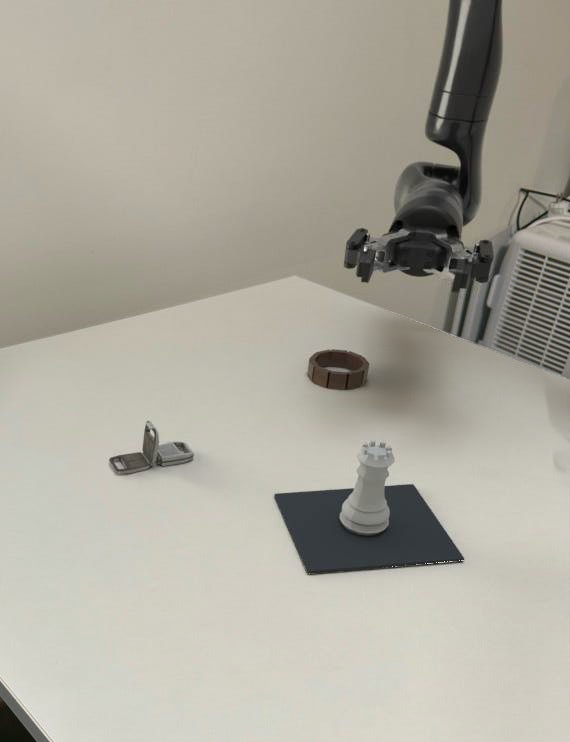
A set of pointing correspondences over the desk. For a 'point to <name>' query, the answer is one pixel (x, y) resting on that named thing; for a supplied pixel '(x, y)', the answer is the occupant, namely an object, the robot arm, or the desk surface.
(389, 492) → the mat
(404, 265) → the robot arm
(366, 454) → the rook chess piece
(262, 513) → the desk surface
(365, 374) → the brown segmented bracelet
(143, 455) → the strap clip
